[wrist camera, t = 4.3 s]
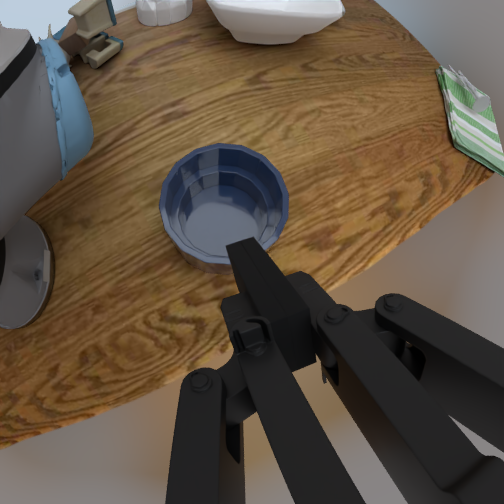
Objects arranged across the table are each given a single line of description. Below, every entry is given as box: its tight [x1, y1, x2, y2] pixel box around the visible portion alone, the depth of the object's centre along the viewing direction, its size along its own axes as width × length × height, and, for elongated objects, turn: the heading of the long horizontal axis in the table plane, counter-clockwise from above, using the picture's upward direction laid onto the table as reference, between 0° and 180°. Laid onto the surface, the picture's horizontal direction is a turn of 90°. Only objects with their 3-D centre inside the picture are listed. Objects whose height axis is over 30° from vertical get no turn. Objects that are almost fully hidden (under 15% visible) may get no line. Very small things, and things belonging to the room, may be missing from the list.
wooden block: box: [58, 17, 90, 55], centre depth 32 cm, size 4×4×8 cm
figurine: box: [448, 65, 491, 112], centre depth 43 cm, size 5×5×12 cm
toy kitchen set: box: [53, 0, 123, 69], centre depth 32 cm, size 18×14×11 cm
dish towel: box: [436, 66, 504, 177], centre depth 45 cm, size 18×23×3 cm
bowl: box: [206, 0, 342, 44], centre depth 37 cm, size 22×22×12 cm
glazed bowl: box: [159, 143, 289, 275], centre depth 31 cm, size 12×12×8 cm
